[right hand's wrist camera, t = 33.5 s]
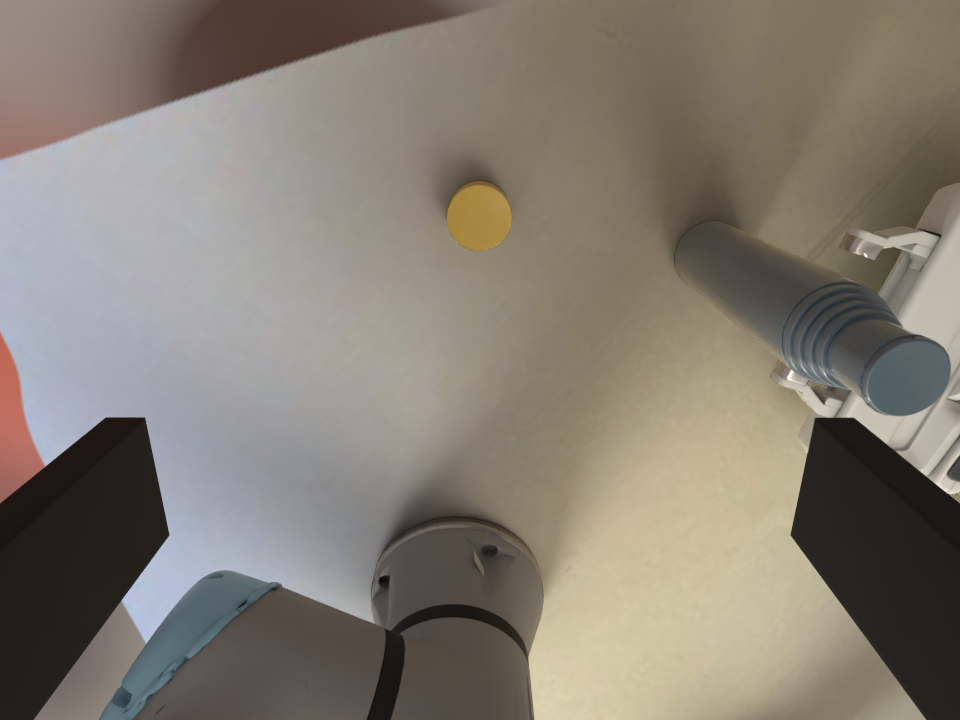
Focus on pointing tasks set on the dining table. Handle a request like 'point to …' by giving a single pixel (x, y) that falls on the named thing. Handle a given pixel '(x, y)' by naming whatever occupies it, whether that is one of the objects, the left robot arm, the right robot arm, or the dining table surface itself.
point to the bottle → (814, 319)
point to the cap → (479, 216)
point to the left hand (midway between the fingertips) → (811, 306)
